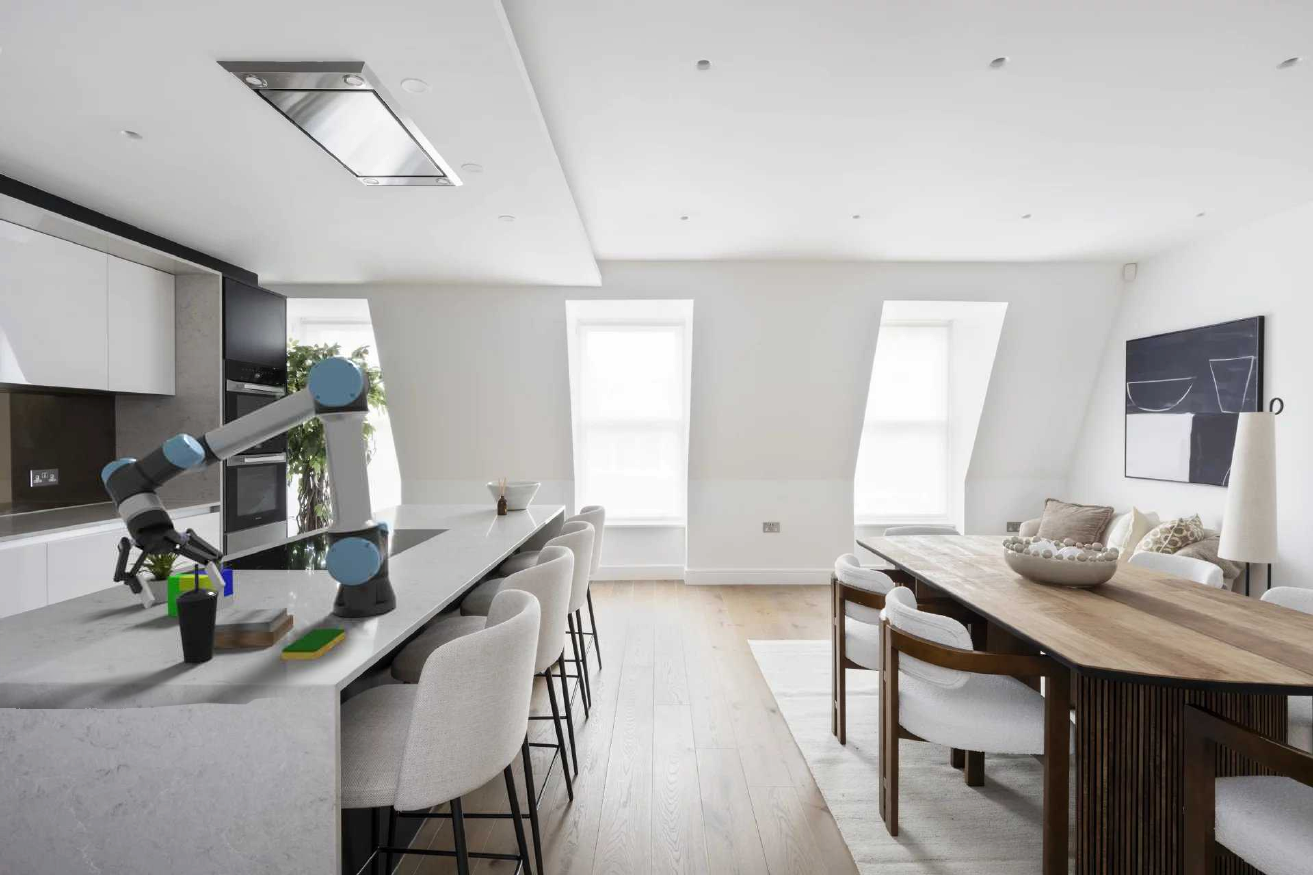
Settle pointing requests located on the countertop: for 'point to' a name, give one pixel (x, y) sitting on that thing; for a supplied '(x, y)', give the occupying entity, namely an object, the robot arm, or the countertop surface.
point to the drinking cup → (197, 621)
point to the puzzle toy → (187, 582)
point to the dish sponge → (313, 644)
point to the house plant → (159, 575)
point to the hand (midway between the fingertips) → (187, 595)
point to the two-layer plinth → (252, 628)
